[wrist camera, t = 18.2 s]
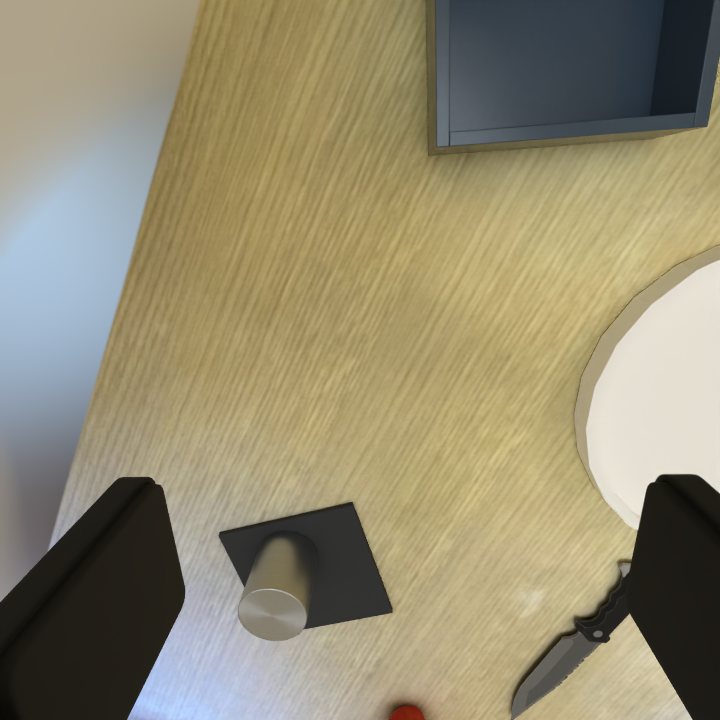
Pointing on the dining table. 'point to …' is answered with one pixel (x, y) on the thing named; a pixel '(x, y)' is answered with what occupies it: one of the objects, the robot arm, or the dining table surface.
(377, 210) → the dining table surface
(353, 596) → the mat
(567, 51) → the dark blue-grey open box
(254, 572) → the brushed metal cylinder
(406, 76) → the dining table surface
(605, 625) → the knife
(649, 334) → the plate
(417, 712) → the apple
